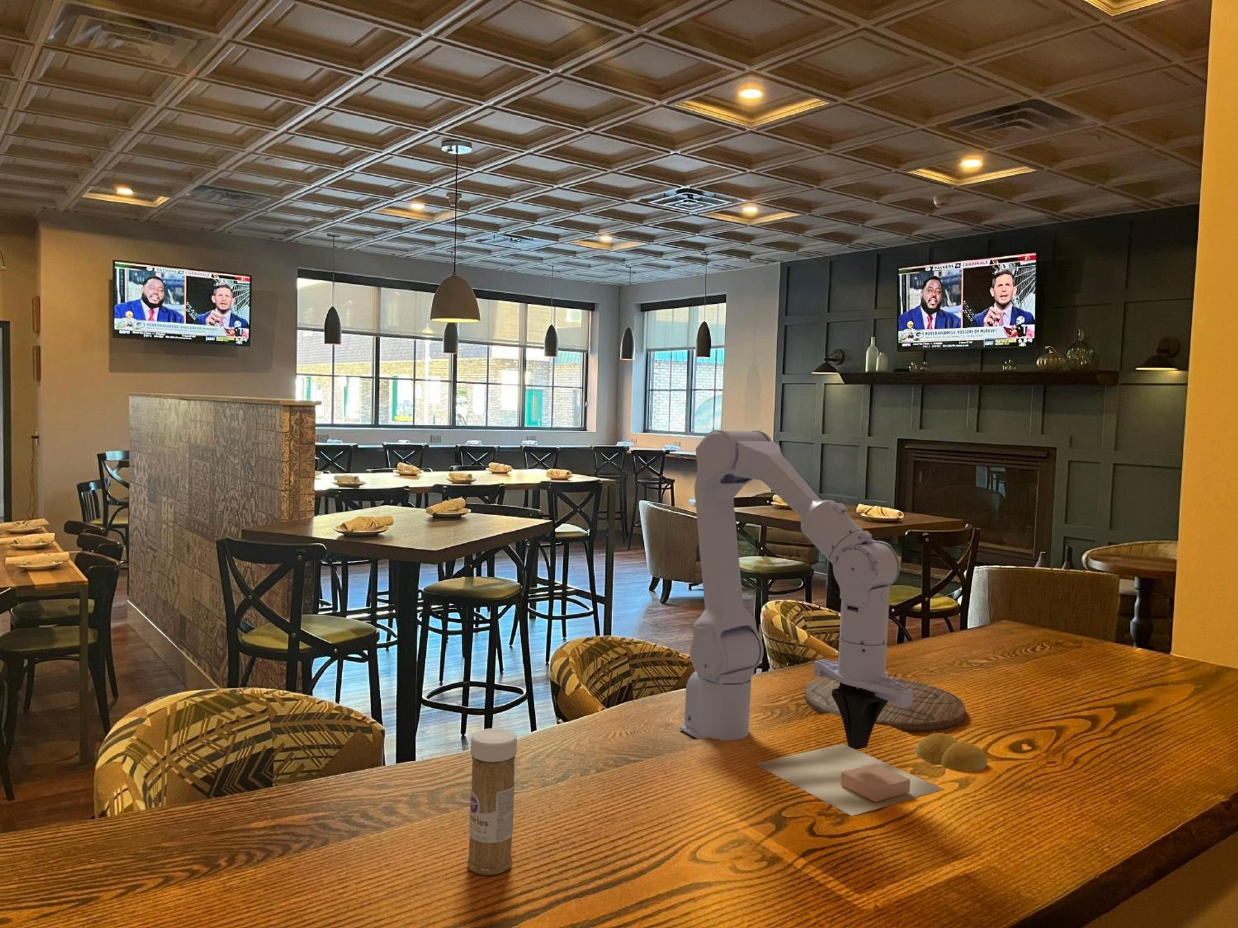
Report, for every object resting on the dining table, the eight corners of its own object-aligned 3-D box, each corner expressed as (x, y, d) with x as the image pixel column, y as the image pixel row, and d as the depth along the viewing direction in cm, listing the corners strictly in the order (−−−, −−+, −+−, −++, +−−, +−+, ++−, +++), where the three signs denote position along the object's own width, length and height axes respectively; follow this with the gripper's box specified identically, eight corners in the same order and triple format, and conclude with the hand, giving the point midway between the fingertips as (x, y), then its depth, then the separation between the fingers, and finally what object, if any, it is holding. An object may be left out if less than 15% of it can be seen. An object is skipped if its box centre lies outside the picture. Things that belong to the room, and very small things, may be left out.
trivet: (946, 747, 129) (946, 734, 129) (781, 711, 142) (782, 700, 142) (978, 703, 150) (978, 692, 150) (832, 675, 163) (833, 665, 163)
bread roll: (968, 785, 116) (970, 754, 115) (906, 762, 122) (908, 734, 122) (999, 769, 121) (1001, 740, 121) (938, 749, 128) (939, 721, 128)
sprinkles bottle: (457, 865, 90) (461, 734, 89) (492, 849, 93) (495, 723, 93) (488, 882, 87) (492, 746, 86) (522, 865, 90) (526, 734, 90)
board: (754, 771, 117) (754, 763, 117) (842, 750, 125) (842, 743, 125) (851, 824, 102) (852, 815, 102) (943, 796, 111) (944, 789, 111)
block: (841, 771, 111) (875, 788, 106) (875, 763, 114) (910, 779, 109) (840, 785, 111) (875, 803, 106) (874, 776, 114) (909, 793, 109)
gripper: (932, 650, 108) (926, 761, 108) (843, 623, 120) (838, 723, 121) (891, 656, 104) (885, 771, 105) (804, 628, 116) (799, 731, 117)
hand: (857, 746), depth 112 cm, fingers closed
